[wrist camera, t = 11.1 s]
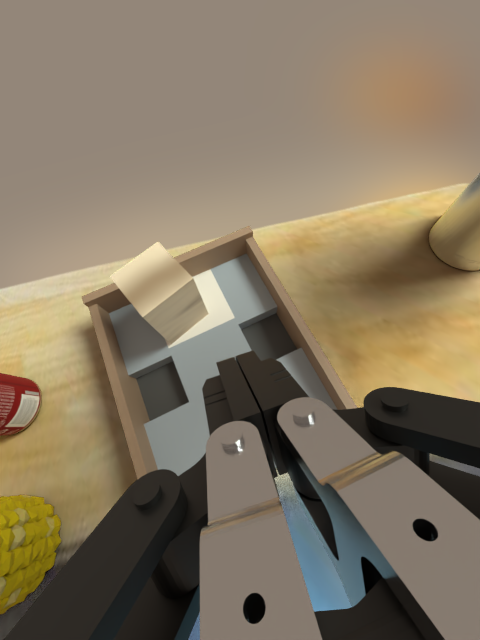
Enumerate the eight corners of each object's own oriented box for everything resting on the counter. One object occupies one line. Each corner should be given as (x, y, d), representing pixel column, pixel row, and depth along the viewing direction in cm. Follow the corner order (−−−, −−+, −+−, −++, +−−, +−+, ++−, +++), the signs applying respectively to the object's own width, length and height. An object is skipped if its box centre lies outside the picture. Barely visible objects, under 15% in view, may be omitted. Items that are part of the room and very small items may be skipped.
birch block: (144, 311, 35) (109, 276, 27) (180, 283, 37) (158, 241, 28) (171, 344, 34) (142, 317, 25) (208, 313, 35) (193, 278, 26)
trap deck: (109, 317, 38) (81, 296, 32) (250, 255, 41) (249, 225, 34) (172, 519, 29) (150, 543, 23) (349, 424, 31) (371, 424, 25)
